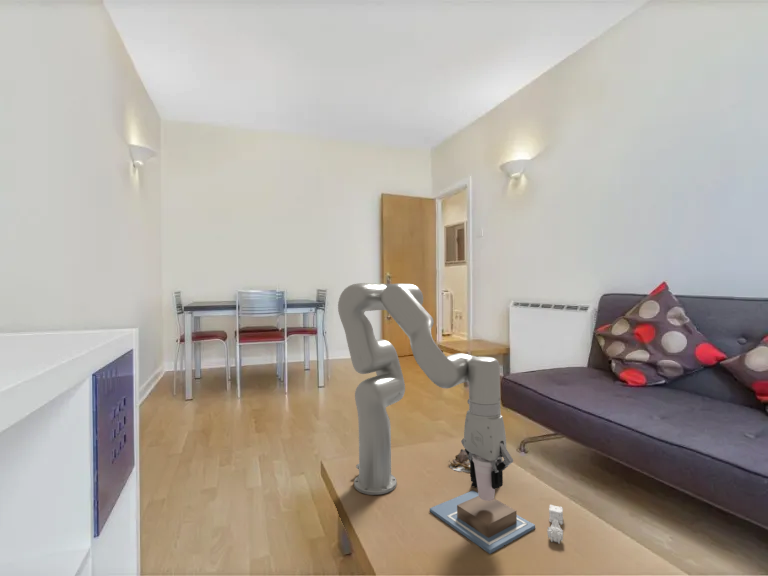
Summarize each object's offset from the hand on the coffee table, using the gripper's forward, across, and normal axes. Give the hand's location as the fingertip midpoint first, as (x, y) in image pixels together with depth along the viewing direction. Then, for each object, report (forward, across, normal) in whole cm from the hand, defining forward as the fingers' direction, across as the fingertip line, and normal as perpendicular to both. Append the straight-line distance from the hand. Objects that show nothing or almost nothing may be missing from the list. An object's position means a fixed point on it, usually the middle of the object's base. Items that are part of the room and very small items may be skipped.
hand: (486, 480), depth 96 cm
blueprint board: (+10, -2, 0) cm, 11 cm away
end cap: (+11, -14, +16) cm, 24 cm away
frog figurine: (+11, -27, +19) cm, 35 cm away
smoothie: (+4, 0, 0) cm, 4 cm away
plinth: (+10, 0, 0) cm, 10 cm away
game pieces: (+11, +11, +11) cm, 19 cm away
